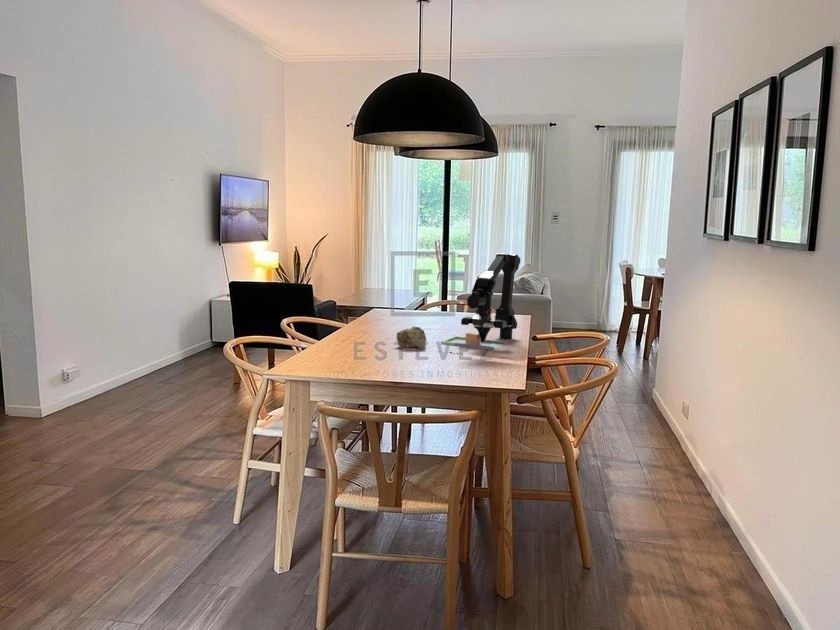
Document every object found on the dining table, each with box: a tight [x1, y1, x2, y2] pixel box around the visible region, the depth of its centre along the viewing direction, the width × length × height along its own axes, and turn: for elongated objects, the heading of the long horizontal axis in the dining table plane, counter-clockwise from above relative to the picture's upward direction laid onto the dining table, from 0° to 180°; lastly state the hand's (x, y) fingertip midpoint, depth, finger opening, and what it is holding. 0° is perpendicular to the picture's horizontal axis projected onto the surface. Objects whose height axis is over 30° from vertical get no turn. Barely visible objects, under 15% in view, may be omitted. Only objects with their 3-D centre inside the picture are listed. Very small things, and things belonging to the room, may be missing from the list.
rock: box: [396, 325, 427, 350], centre depth 268 cm, size 12×7×10 cm, turn 73°
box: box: [440, 335, 506, 351], centre depth 271 cm, size 15×24×3 cm, turn 63°
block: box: [465, 331, 482, 345], centre depth 270 cm, size 5×5×4 cm
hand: (482, 342), depth 268 cm, fingers closed
